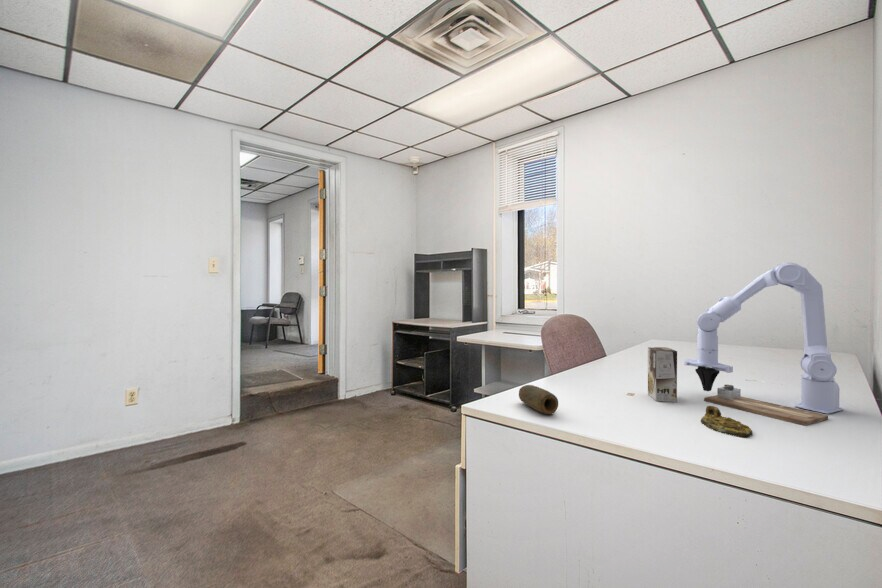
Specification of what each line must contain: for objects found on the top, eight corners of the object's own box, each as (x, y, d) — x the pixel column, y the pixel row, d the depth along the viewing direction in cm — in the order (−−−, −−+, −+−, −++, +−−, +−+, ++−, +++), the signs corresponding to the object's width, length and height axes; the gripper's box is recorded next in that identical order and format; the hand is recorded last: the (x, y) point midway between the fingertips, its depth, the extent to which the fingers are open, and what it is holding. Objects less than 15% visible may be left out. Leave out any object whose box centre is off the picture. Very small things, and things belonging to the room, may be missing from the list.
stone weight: (563, 415, 116) (563, 392, 116) (541, 418, 114) (541, 394, 114) (534, 401, 130) (534, 380, 130) (514, 403, 128) (514, 382, 128)
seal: (766, 443, 98) (720, 421, 113) (769, 423, 98) (722, 405, 113) (729, 439, 98) (688, 418, 113) (732, 420, 98) (690, 401, 112)
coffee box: (677, 402, 128) (678, 351, 128) (655, 401, 129) (655, 350, 129) (667, 395, 137) (668, 346, 137) (647, 394, 138) (647, 346, 138)
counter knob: (727, 395, 131) (727, 383, 131) (740, 398, 128) (740, 386, 128) (717, 397, 129) (717, 384, 129) (730, 400, 126) (731, 387, 126)
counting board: (726, 396, 135) (727, 393, 135) (828, 419, 111) (828, 415, 111) (704, 400, 130) (704, 397, 130) (804, 425, 106) (805, 421, 106)
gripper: (678, 347, 139) (678, 387, 139) (723, 353, 126) (723, 397, 126) (691, 345, 142) (691, 384, 142) (736, 351, 129) (736, 394, 129)
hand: (707, 390), depth 135 cm, fingers closed
